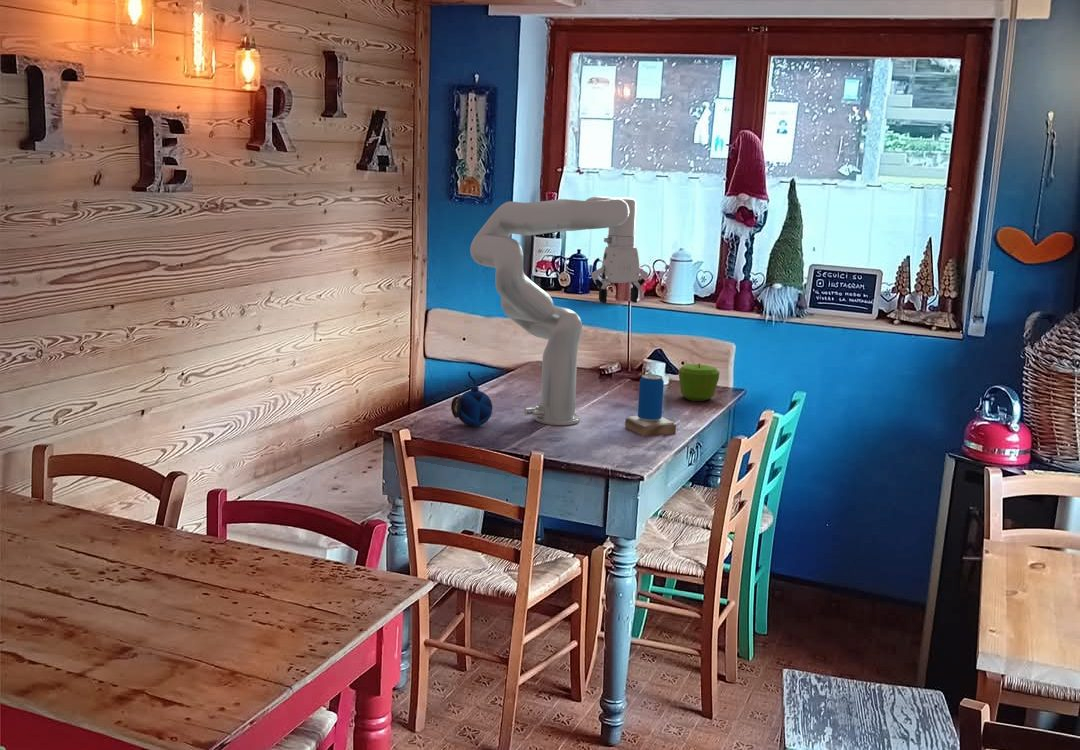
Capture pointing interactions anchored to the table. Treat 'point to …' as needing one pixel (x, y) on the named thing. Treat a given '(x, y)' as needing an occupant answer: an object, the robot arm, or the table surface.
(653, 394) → the beverage can
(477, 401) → the bomb
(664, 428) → the pedestal
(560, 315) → the robot arm
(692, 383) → the apple
